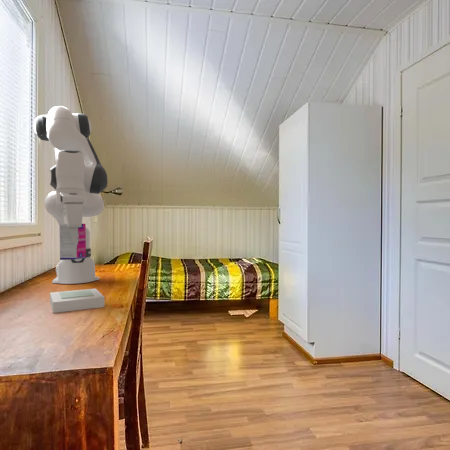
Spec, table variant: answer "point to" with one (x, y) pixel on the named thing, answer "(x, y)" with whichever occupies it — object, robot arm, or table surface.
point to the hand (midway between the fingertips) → (72, 242)
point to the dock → (76, 300)
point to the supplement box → (72, 249)
